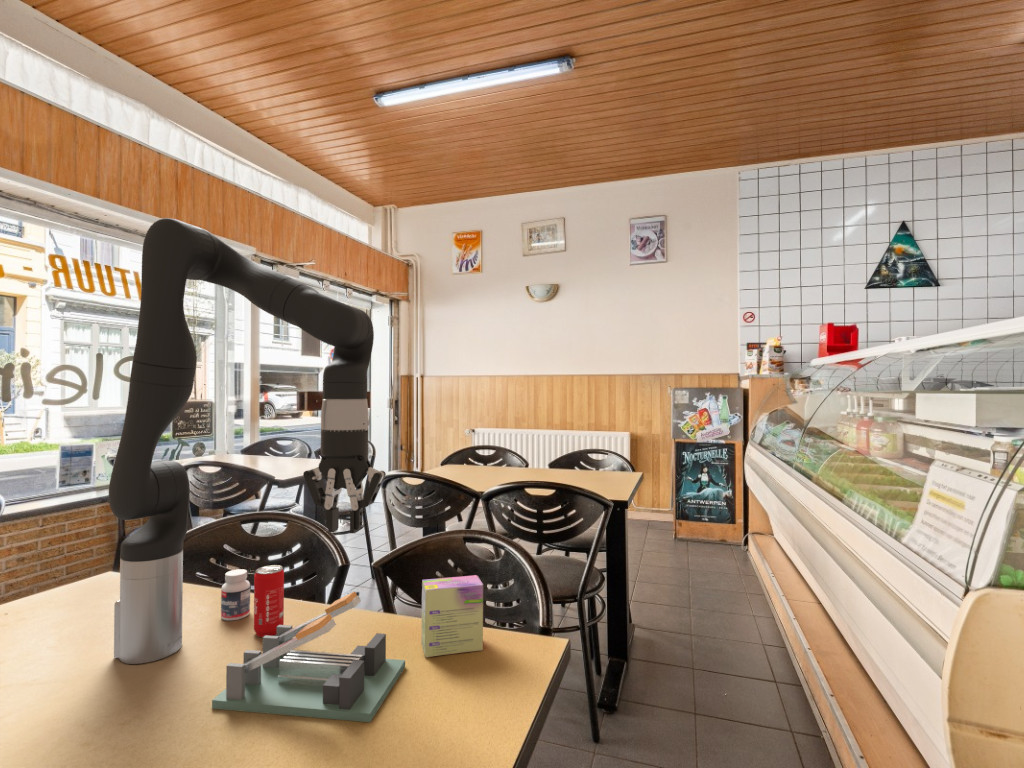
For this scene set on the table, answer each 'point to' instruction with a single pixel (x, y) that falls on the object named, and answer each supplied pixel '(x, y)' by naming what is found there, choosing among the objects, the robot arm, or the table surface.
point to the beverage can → (268, 600)
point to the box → (452, 615)
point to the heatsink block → (313, 667)
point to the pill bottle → (235, 595)
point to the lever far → (333, 610)
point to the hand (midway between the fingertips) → (344, 531)
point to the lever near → (293, 642)
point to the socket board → (337, 699)
